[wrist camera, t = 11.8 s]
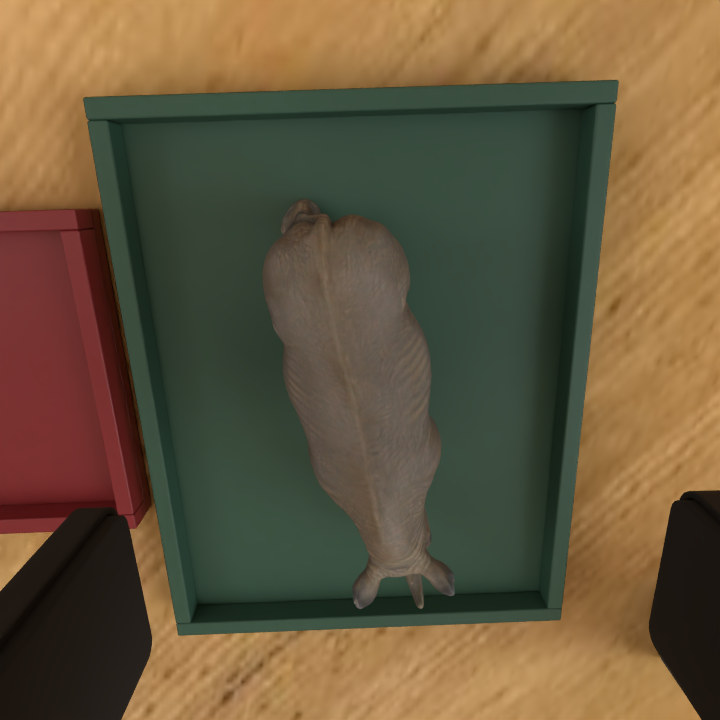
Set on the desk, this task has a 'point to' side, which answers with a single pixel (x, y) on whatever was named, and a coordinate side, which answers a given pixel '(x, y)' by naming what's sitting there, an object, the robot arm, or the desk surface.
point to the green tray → (425, 299)
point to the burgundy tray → (62, 377)
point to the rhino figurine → (359, 385)
